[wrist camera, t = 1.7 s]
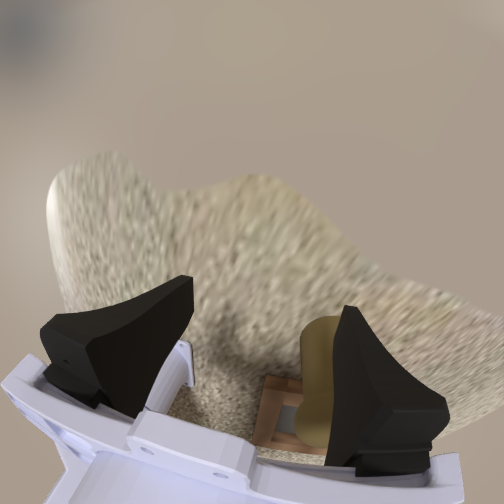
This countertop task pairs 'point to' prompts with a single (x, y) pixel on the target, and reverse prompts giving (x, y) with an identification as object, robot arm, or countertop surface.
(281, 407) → the holder
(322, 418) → the cork
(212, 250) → the countertop surface
